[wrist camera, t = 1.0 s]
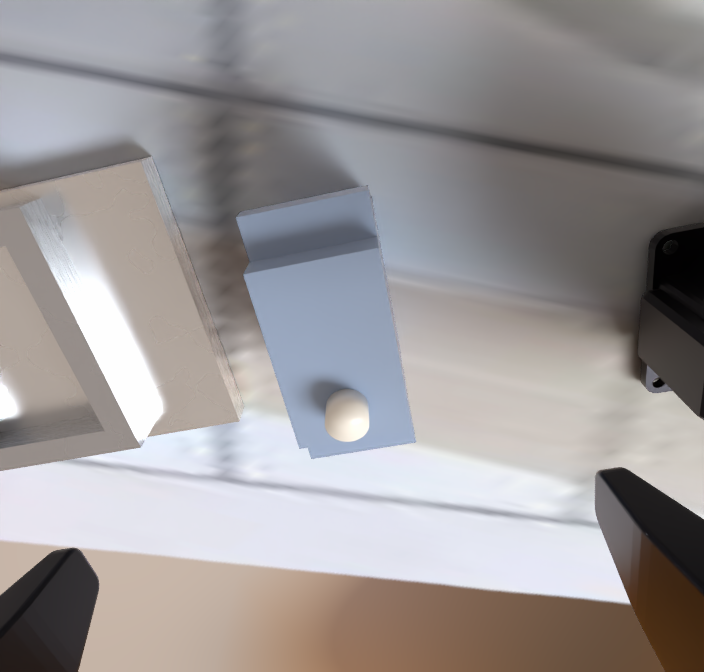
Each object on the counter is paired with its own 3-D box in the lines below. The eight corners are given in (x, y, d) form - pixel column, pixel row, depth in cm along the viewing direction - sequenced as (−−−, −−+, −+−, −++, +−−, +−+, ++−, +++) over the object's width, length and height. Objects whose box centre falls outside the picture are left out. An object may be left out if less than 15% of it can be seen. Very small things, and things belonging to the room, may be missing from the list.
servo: (264, 181, 17) (220, 237, 11) (364, 159, 17) (370, 206, 11) (319, 381, 21) (306, 498, 15) (403, 366, 20) (422, 480, 15)
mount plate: (152, 156, 17) (125, 168, 15) (244, 406, 21) (233, 440, 19) (-177, 230, 18) (-242, 250, 16) (-22, 452, 22) (-58, 489, 20)
